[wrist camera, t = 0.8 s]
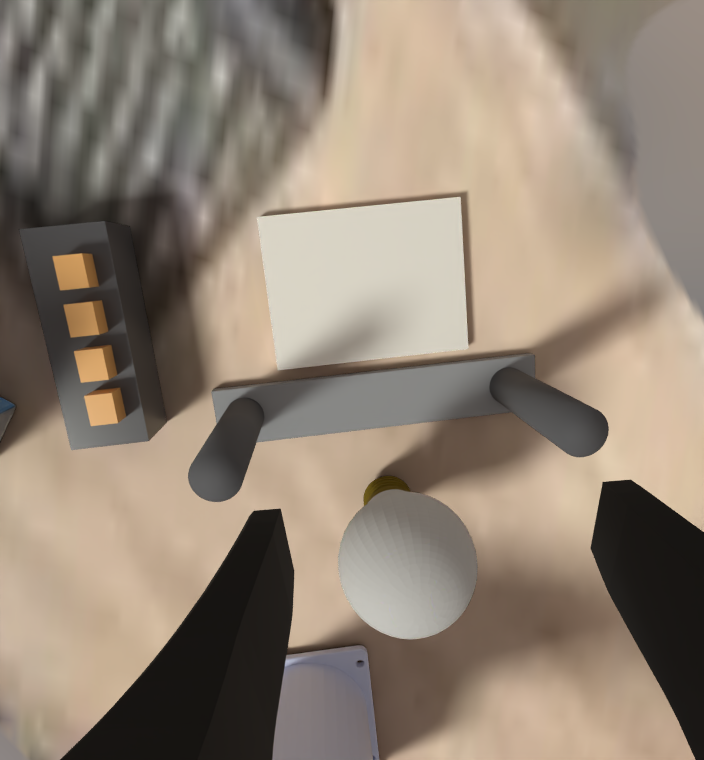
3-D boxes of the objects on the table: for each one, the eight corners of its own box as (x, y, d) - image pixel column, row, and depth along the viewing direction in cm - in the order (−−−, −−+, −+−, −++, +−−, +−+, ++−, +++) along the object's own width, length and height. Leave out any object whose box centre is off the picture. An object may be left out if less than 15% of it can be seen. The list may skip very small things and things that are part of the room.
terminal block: (166, 422, 27) (141, 448, 23) (97, 430, 27) (60, 457, 23) (129, 226, 25) (94, 218, 21) (54, 233, 25) (4, 227, 21)
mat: (465, 347, 27) (468, 348, 27) (278, 368, 27) (277, 370, 26) (457, 197, 26) (460, 196, 25) (258, 218, 25) (256, 217, 25)
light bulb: (403, 422, 28) (450, 505, 18) (455, 505, 29) (524, 624, 19) (312, 478, 28) (310, 589, 19) (367, 557, 30) (393, 700, 20)
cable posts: (531, 406, 28) (620, 464, 20) (222, 442, 27) (182, 518, 19) (530, 353, 28) (621, 390, 19) (213, 389, 27) (167, 443, 19)
